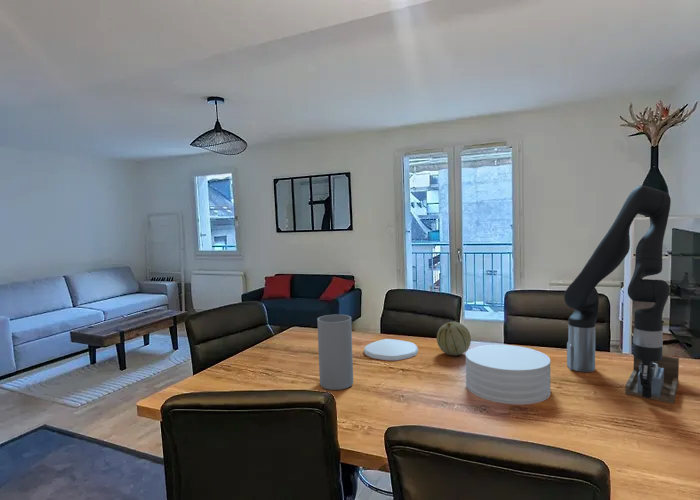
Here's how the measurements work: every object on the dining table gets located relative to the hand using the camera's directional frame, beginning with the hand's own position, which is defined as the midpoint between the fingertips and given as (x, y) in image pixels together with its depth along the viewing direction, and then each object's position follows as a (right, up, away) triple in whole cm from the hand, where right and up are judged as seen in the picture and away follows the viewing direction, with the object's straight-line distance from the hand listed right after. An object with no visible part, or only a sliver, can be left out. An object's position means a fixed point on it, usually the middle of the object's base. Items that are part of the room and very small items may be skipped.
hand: (646, 397), depth 134 cm
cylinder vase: (-98, -4, +25) cm, 101 cm away
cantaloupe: (-47, 0, +55) cm, 73 cm away
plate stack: (-37, -3, +17) cm, 41 cm away
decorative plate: (-74, -1, +63) cm, 97 cm away
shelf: (+10, -1, +12) cm, 16 cm away
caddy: (+8, 0, +9) cm, 12 cm away
